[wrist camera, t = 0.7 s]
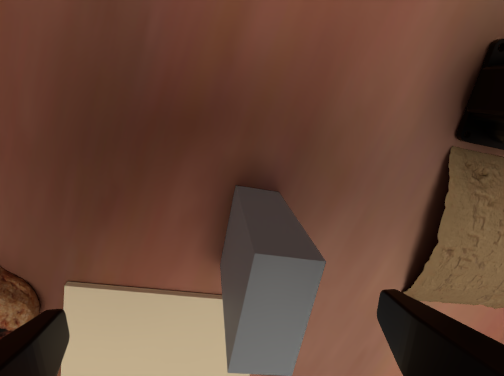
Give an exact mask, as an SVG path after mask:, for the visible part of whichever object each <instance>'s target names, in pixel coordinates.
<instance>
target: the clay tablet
mask: <svg viewBox="0 0 504 376" xmlns="http://www.w3.org/2000/svg"><path fill="white" fill-rule="evenodd" d="M448 167H449V169H450V171H449V176H450V180H449V185H448V188H449V192H448V193H447V196H446V199H445V206H446V208H445V210H444V213H443V216H442V220H441V223H440V227H439V231H438V235H437V236H438V240H439V243H438V245H436V247H435V248H434V250H433V252H432V255H431V256H430V260H429V261H428V262H427V263H426V264H425V267H424V271H423V272H422V273H421V275H420V276H419V277H418V279H417V280H416V281H415V282H414V285H412V286H411V288H409V289H408V291H406V292H403V293H404V294H406V295H408V296H410V297H412V298H414V299H416V300H418V301H429V302H442V303H459V304H470V305H479V304H481V305H484V306H487V307H493V308H494V309H495V308H503V307H504V157H501V156H496V155H492V154H487V153H481V152H477V151H472V150H467V149H462V148H459V147H454V146H452V148H451V154H450V156H449V165H448Z"/></svg>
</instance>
